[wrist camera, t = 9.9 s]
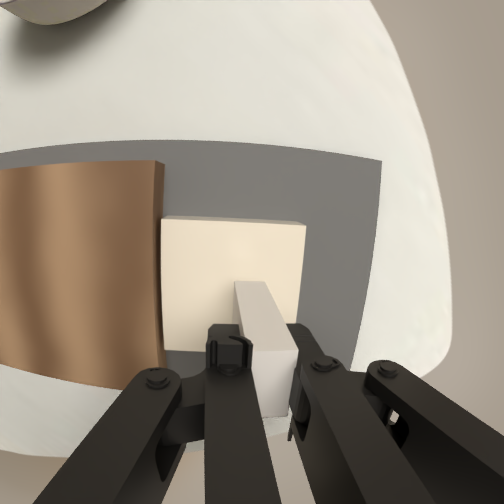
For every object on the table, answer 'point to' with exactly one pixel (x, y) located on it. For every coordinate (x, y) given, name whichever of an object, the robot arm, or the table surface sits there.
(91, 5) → the teacup
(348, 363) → the mat
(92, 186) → the stand
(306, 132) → the table surface
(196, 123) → the table surface
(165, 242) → the coaster
